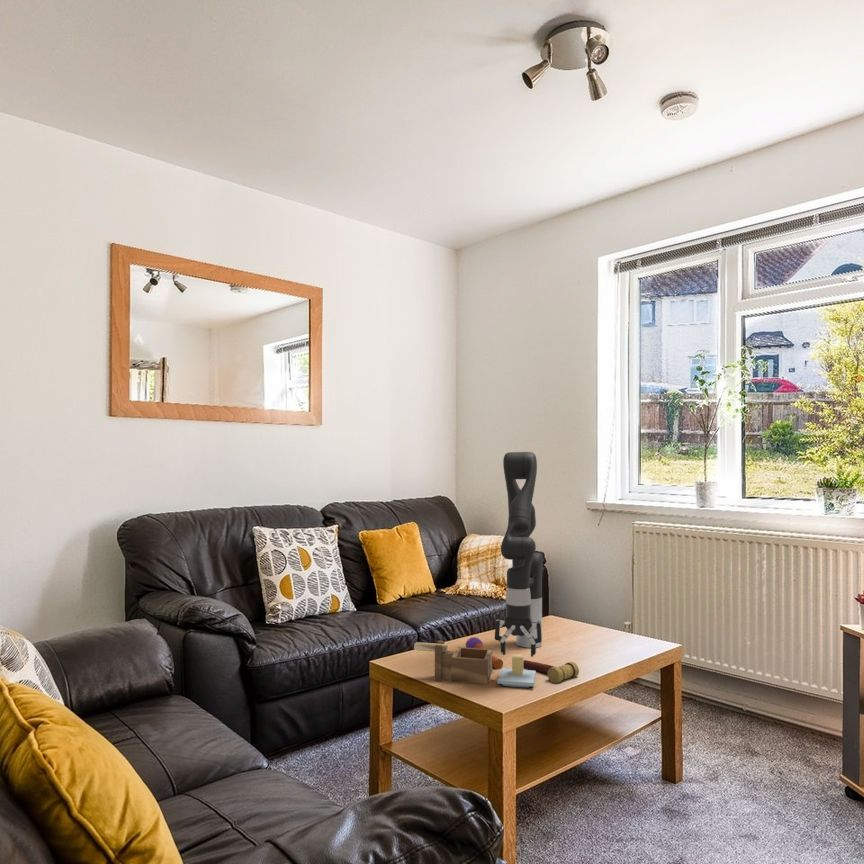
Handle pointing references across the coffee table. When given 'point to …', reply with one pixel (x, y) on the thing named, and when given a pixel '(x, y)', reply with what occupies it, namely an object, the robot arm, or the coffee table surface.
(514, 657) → the lid
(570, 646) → the coffee table surface
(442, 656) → the toolbox
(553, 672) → the gavel
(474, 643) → the kendama
